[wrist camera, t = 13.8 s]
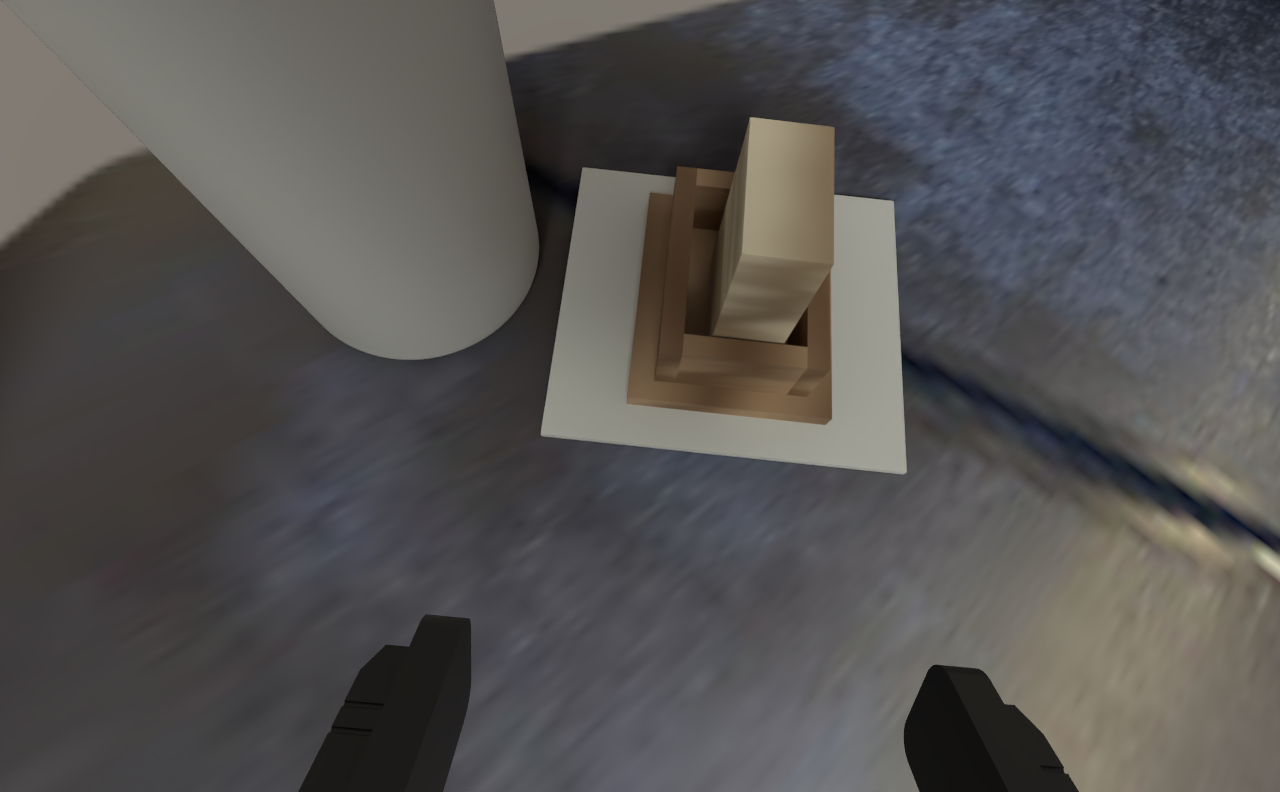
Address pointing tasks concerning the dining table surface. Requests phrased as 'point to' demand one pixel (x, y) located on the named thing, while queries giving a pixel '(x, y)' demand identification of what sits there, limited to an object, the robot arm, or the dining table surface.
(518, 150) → the cylinder vase
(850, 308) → the mat
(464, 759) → the dining table surface
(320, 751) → the robot arm
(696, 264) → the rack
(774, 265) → the beech block
